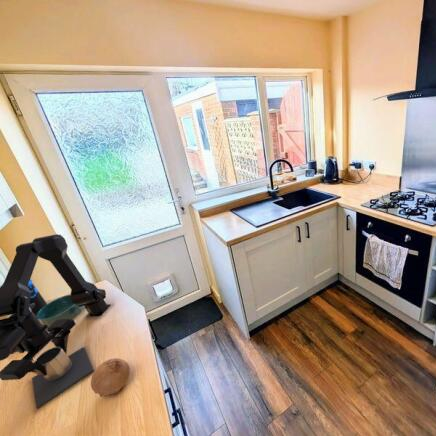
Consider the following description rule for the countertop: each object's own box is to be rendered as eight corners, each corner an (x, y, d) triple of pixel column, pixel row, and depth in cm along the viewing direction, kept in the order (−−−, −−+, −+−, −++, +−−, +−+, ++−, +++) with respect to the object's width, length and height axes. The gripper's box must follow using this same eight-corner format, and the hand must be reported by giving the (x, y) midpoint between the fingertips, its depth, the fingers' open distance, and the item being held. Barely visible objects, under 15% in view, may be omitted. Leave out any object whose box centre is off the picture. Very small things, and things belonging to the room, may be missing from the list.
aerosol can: (23, 324, 104) (-6, 287, 95) (31, 312, 110) (4, 276, 102) (47, 316, 107) (21, 279, 98) (53, 304, 114) (30, 269, 105)
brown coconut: (134, 383, 78) (139, 359, 76) (105, 410, 69) (110, 384, 67) (111, 368, 80) (116, 344, 77) (80, 392, 71) (84, 367, 69)
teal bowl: (92, 302, 112) (87, 293, 110) (66, 328, 99) (59, 318, 97) (63, 304, 113) (57, 295, 110) (33, 330, 100) (26, 320, 98)
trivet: (33, 379, 80) (31, 378, 80) (84, 348, 89) (83, 346, 89) (37, 409, 71) (36, 407, 71) (94, 371, 80) (93, 369, 80)
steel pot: (77, 360, 82) (67, 345, 79) (60, 380, 76) (48, 365, 73) (58, 361, 82) (47, 347, 79) (40, 381, 76) (27, 366, 73)
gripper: (32, 307, 80) (57, 340, 87) (-37, 361, 63) (-1, 397, 70) (65, 304, 79) (86, 338, 86) (3, 359, 63) (36, 395, 69)
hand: (55, 364), depth 78 cm, fingers closed on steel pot, 6 cm apart
